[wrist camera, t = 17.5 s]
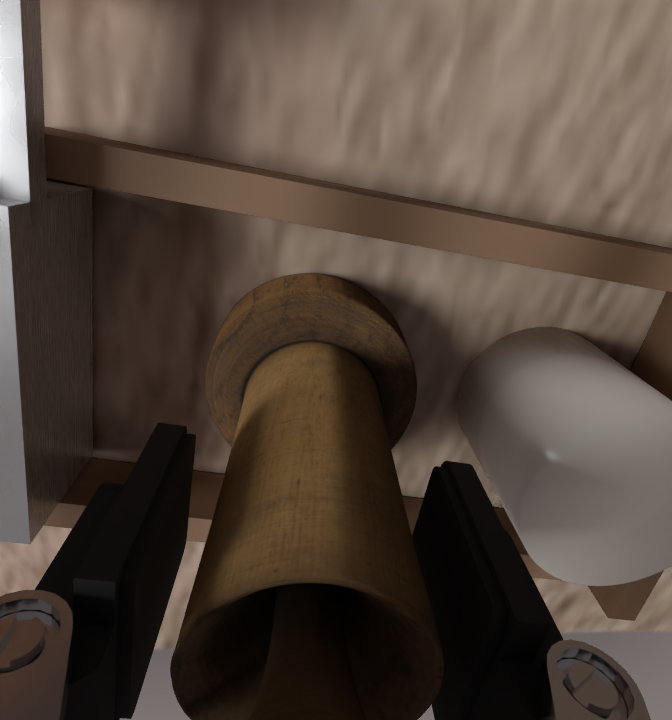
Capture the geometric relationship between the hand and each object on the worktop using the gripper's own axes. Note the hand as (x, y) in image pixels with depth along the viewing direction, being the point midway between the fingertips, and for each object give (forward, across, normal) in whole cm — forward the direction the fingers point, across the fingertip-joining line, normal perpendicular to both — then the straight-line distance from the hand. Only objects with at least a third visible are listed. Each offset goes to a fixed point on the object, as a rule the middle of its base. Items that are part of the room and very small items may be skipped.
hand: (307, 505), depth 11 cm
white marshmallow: (+7, -8, 0) cm, 11 cm away
